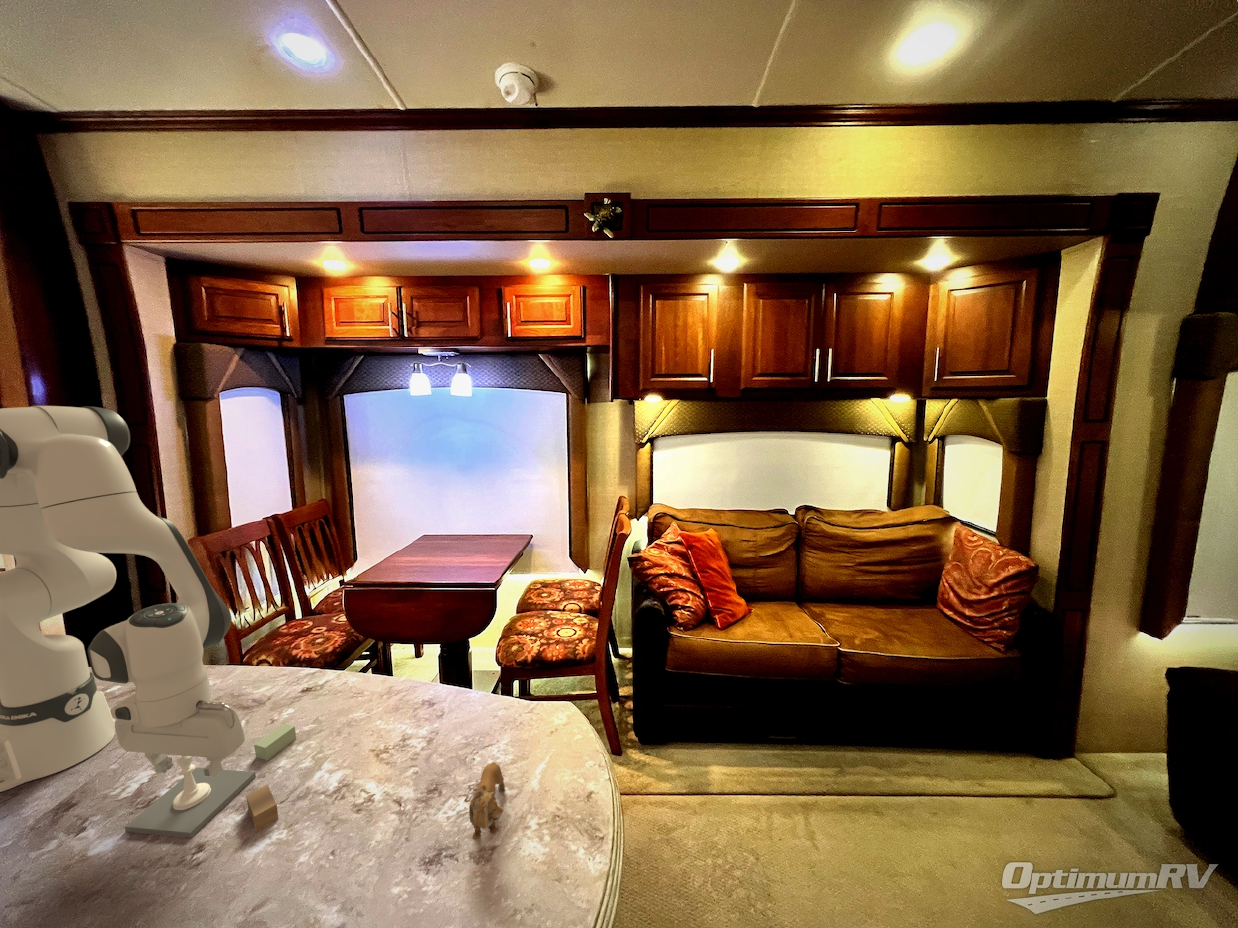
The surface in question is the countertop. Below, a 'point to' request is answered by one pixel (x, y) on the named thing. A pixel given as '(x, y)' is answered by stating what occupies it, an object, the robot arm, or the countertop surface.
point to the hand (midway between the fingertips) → (189, 771)
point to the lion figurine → (486, 801)
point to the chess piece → (189, 786)
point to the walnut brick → (262, 807)
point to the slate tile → (190, 821)
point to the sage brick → (275, 741)
